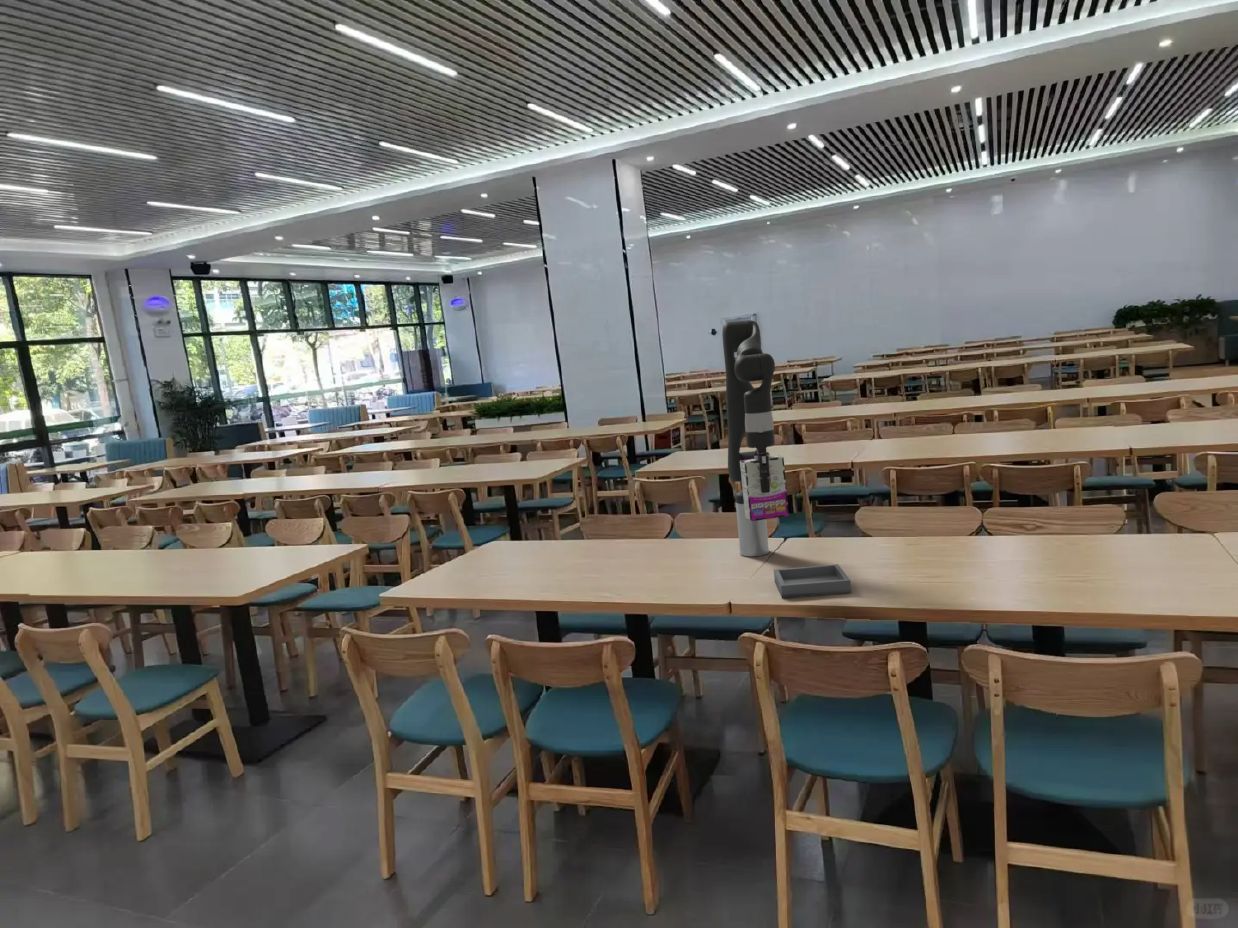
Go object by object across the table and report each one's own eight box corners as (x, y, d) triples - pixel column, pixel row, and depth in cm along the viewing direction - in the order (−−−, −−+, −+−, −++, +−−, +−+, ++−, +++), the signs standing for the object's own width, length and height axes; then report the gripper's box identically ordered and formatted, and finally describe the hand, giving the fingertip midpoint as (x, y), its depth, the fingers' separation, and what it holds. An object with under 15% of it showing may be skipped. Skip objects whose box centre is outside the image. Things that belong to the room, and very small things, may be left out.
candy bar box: (782, 513, 221) (777, 454, 219) (789, 516, 216) (784, 456, 214) (744, 518, 219) (739, 459, 217) (750, 521, 214) (745, 461, 212)
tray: (774, 581, 226) (773, 569, 226) (839, 576, 225) (838, 564, 224) (781, 598, 210) (780, 585, 210) (851, 593, 209) (850, 580, 208)
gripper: (743, 427, 222) (748, 487, 224) (747, 432, 208) (752, 496, 210) (771, 425, 221) (775, 484, 223) (776, 430, 207) (781, 493, 209)
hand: (764, 490), depth 217 cm, fingers closed on candy bar box, 5 cm apart
